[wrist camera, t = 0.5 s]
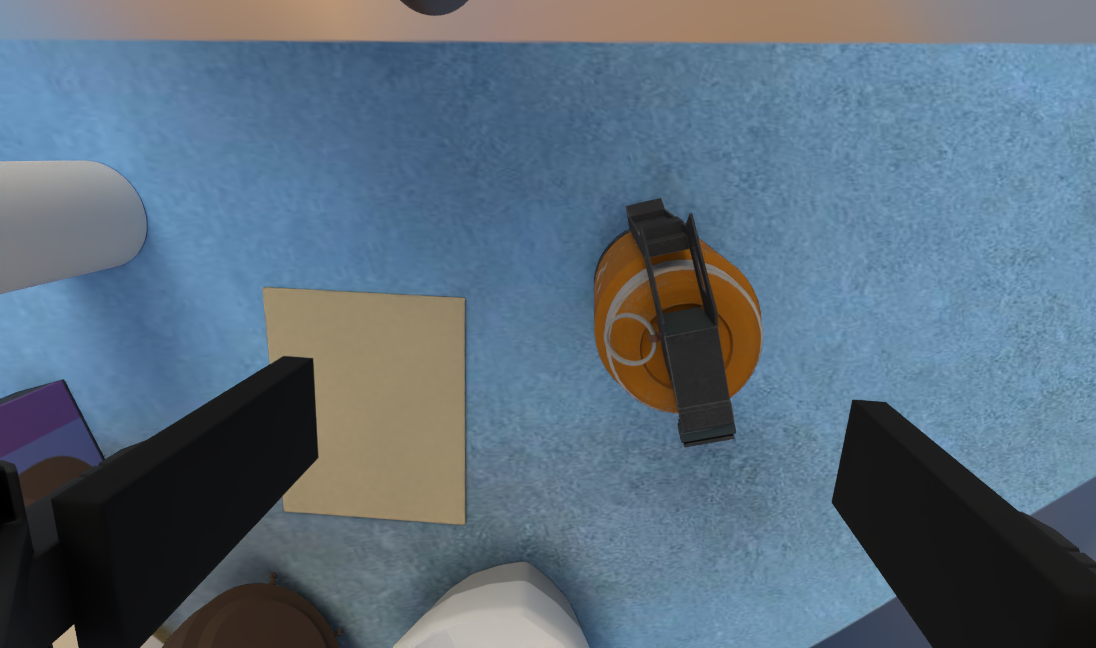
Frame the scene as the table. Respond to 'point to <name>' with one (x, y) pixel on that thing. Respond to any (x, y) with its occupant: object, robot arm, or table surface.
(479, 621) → the bowl
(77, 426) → the cereal box
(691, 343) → the canister
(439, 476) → the mat
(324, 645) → the alarm clock
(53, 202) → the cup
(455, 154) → the table surface
